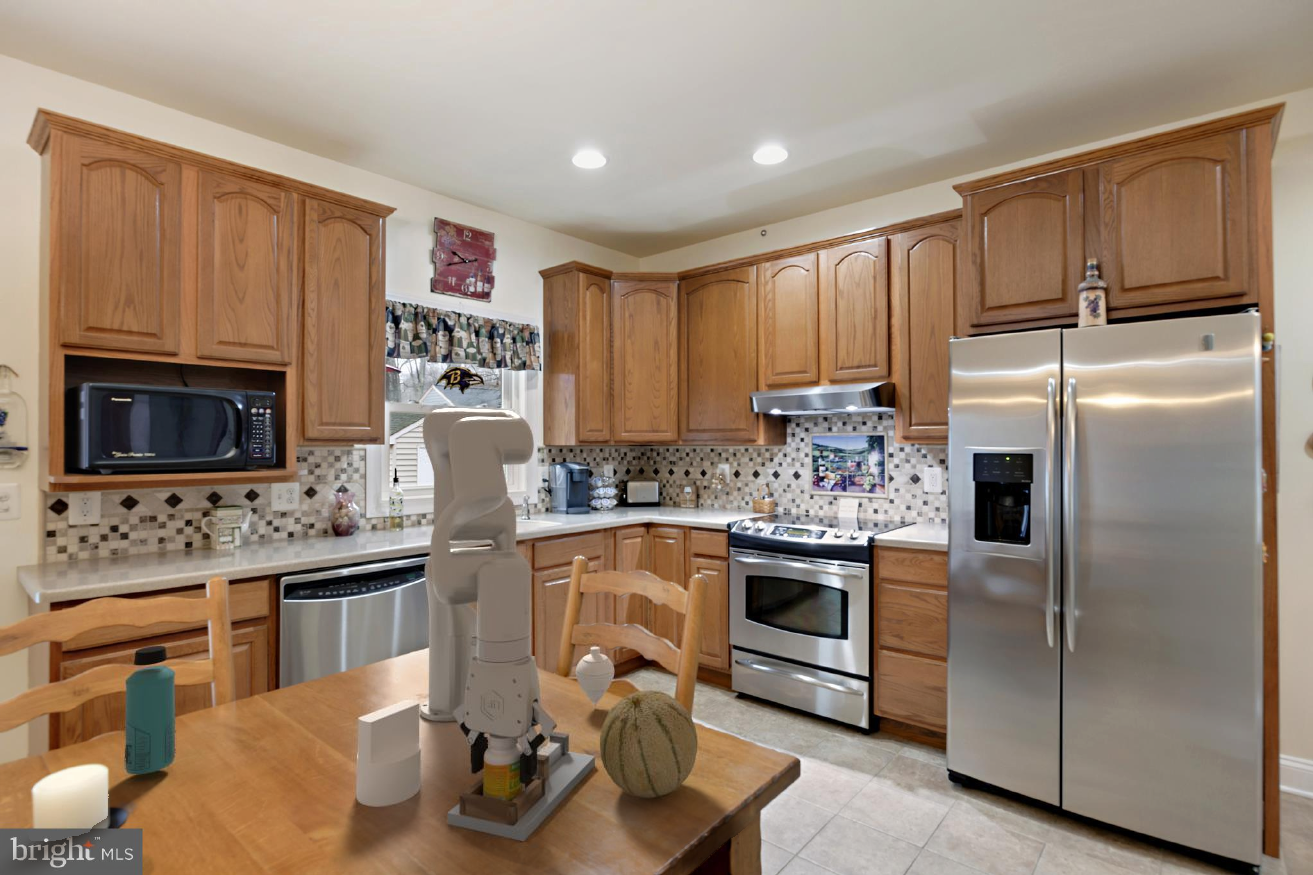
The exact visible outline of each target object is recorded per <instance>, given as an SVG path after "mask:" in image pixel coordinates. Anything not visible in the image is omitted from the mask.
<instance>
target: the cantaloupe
mask: <svg viewBox="0 0 1313 875" xmlns="http://www.w3.org/2000/svg"><path fill="white" fill-rule="evenodd" d="M698 743H699V742H698V734H697V730H696V725H695V722H694V721H693V718H692V716H691V714H690V713H689V711H688V710H687V708H685V706H684V705H683V704H682V703H681V702H680V701H678V700H677V699H676V698H674V697H672V695H669V694H668V693H665V692H664V691H661V690H653V689H652V690H641V691H639V690H638V691H636V692H634V693H631V694H629V695H627V696H625V697H624V698H622V699H621V700H619V701H618V702H616V703H615V704H614V705H613V706H612V707H611V708H610V710H608V713H607V715H606V717H605V720H604V722H603V725H602V727H601V730H600V737H599V752H600V759H601V762H602V765H603V768H604V769H605V772H606V773H607V775H608V777H610V779H611V780H612V782H613V783H614V784H615V785H616V786H617V787H618V788H620V790H622V791H623V792H624V793H626V794H628V795H630V796H634V797H639V798H644V799H651V798H656V797H659V796H660V797H661V796H664V795H668V794H670V793H671V792H672V791H674V790H675V789H677V788H678V787H680V786H681V785H682V784H683V783H684V782H685V781H686V780H687V779H688V777H689V776H690V775H691V773H692V769H693V768H694V766H695V763H696V758H697V753H698V746H699V744H698Z"/></svg>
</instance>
